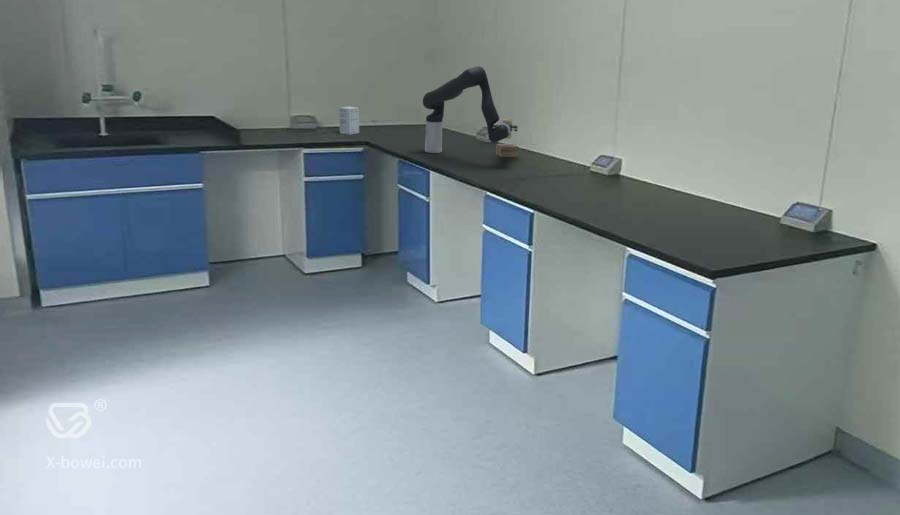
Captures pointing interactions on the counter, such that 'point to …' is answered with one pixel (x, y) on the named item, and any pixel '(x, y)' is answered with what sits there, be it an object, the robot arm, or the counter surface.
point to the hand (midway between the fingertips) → (507, 126)
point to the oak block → (509, 124)
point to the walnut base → (506, 150)
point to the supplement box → (349, 120)
